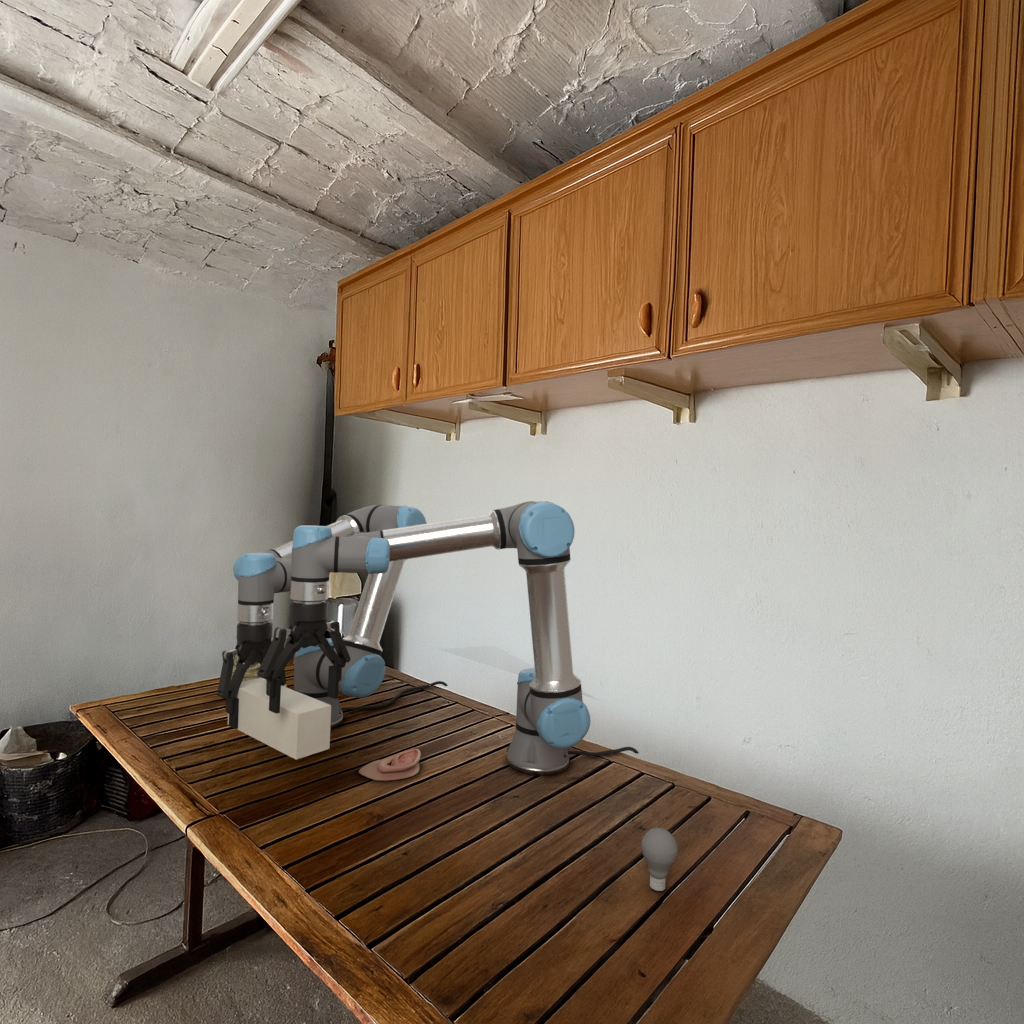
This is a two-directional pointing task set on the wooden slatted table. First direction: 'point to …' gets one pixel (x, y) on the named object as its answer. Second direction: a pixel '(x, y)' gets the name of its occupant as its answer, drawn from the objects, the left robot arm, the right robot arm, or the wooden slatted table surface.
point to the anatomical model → (393, 766)
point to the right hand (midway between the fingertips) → (304, 704)
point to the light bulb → (659, 855)
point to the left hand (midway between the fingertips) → (251, 722)
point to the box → (284, 720)
